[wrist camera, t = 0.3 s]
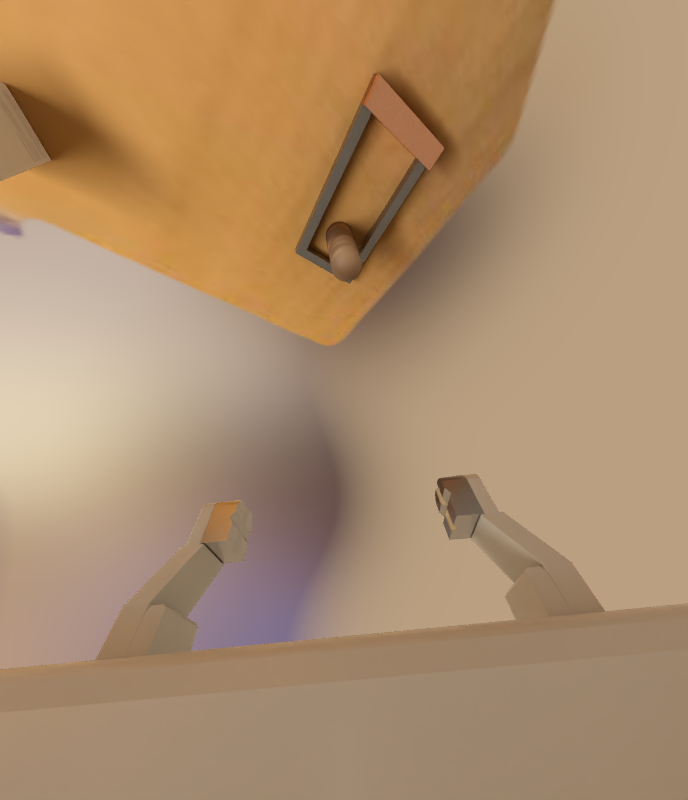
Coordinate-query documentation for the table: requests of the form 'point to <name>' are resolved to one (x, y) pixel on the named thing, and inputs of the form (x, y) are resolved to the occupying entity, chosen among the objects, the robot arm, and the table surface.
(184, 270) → the table surface
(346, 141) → the guide track
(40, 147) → the supplement box
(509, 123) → the table surface
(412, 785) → the robot arm
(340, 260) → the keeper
